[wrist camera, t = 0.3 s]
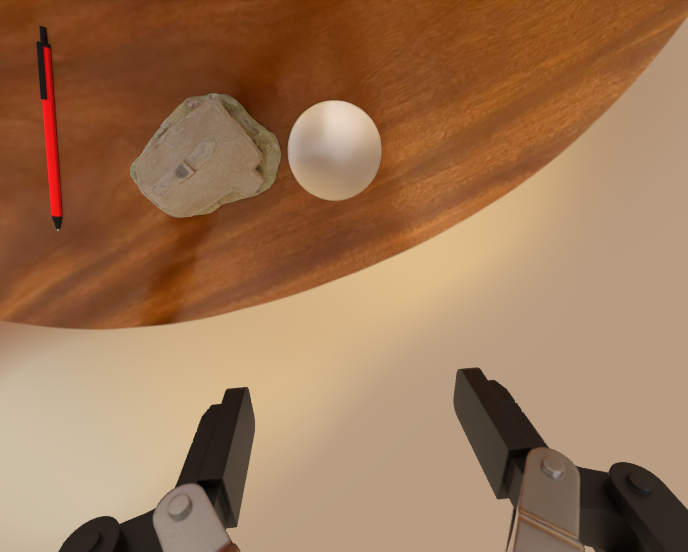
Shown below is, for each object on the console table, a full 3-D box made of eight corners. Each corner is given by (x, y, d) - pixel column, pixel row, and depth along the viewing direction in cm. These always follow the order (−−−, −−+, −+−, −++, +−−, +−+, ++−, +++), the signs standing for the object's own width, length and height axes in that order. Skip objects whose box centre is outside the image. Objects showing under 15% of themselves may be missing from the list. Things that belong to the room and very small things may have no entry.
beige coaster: (282, 103, 35) (281, 102, 34) (379, 97, 35) (381, 97, 34) (293, 202, 39) (293, 204, 38) (380, 195, 39) (382, 197, 38)
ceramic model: (226, 66, 33) (195, 44, 24) (297, 166, 37) (294, 180, 28) (121, 154, 35) (55, 165, 26) (199, 239, 39) (166, 273, 30)
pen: (51, 29, 31) (43, 26, 30) (65, 230, 38) (58, 233, 37) (39, 26, 30) (31, 23, 29) (55, 228, 38) (49, 231, 37)
